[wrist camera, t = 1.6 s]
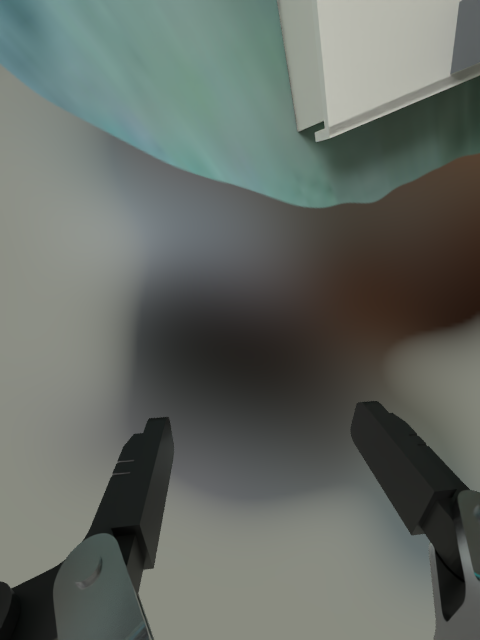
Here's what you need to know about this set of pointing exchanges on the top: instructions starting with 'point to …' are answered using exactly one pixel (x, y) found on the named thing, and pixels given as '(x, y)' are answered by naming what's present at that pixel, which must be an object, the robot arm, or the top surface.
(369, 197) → the top surface
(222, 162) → the top surface
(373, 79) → the lid
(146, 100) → the top surface
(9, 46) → the top surface
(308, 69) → the mailer base
